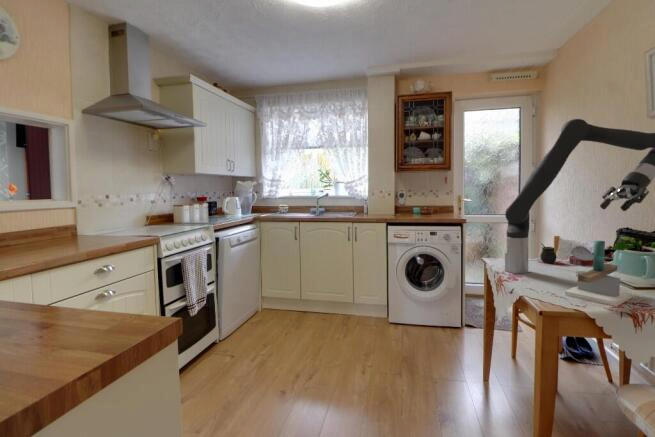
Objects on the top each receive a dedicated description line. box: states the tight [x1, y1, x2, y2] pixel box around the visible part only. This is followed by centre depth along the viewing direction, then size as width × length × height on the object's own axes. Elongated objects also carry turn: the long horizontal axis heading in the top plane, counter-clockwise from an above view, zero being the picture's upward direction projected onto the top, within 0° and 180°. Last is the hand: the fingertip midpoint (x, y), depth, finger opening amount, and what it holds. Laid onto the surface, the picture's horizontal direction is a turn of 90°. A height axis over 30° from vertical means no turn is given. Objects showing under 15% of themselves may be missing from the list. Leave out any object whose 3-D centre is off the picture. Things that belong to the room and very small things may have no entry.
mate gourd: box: [539, 242, 558, 264], centre depth 178 cm, size 7×8×10 cm
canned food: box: [568, 245, 594, 267], centre depth 172 cm, size 11×10×10 cm
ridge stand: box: [564, 271, 633, 307], centre depth 127 cm, size 16×14×8 cm
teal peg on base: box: [577, 240, 618, 283], centre depth 126 cm, size 4×24×13 cm, turn 122°
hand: (612, 208), depth 132 cm, fingers open, 8 cm apart
